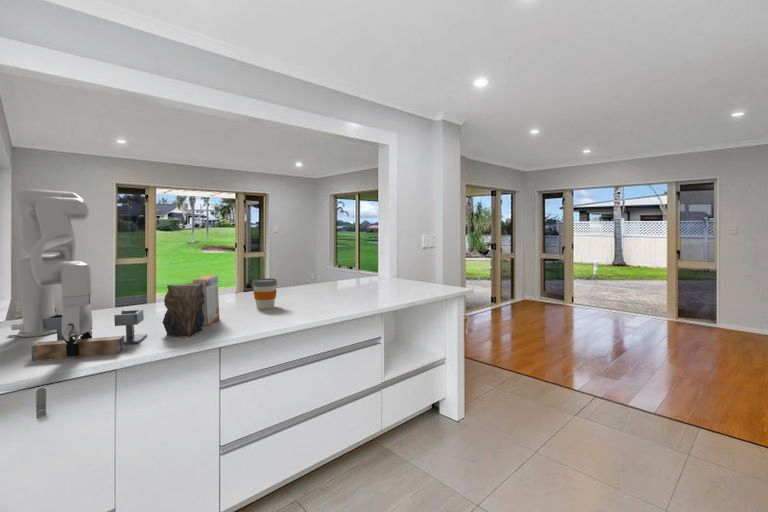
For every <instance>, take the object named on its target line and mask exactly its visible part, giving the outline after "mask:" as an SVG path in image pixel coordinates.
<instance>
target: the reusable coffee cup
mask: <svg viewBox="0 0 768 512" xmlns="http://www.w3.org/2000/svg"><path fill="white" fill-rule="evenodd" d="M277 285H278V282H277V278H256V279H253V280H252V287H253V297H254V300H255V304H256V308H257V309H259V310H267V309H270V310H271V309H273V308H275V301H276V298H277V291H278V289H277Z"/></svg>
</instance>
